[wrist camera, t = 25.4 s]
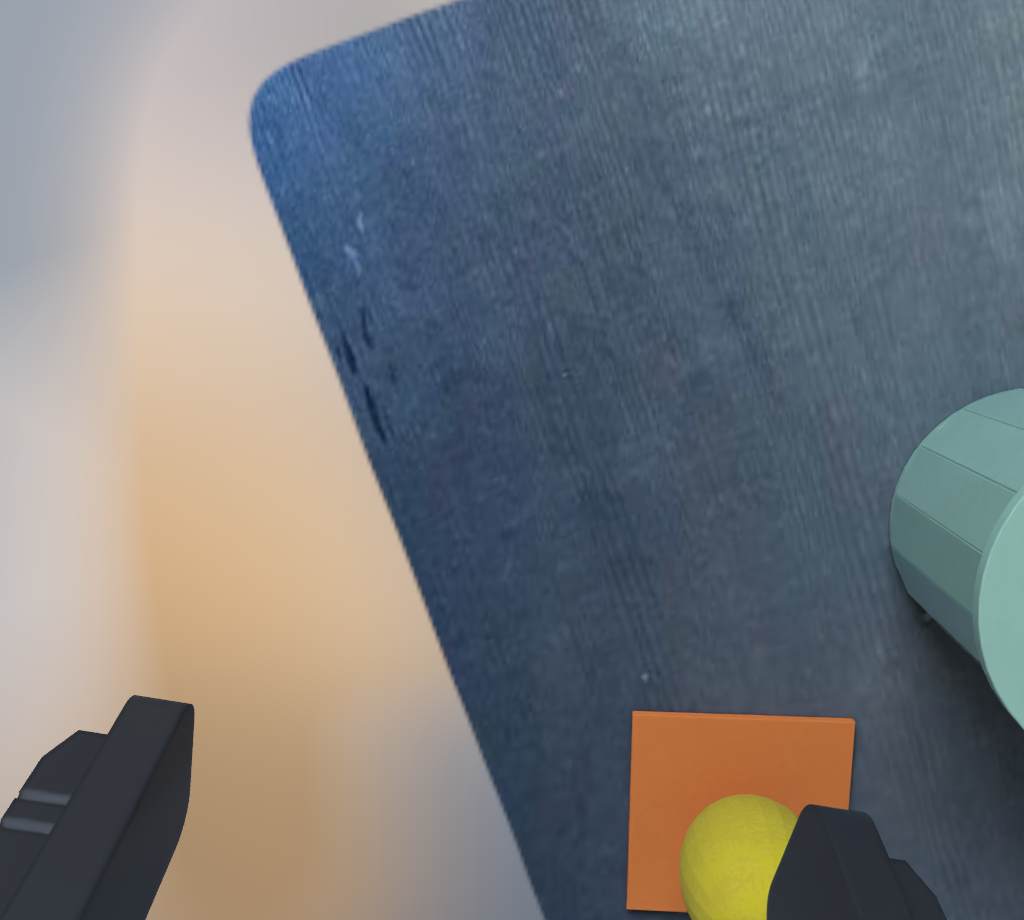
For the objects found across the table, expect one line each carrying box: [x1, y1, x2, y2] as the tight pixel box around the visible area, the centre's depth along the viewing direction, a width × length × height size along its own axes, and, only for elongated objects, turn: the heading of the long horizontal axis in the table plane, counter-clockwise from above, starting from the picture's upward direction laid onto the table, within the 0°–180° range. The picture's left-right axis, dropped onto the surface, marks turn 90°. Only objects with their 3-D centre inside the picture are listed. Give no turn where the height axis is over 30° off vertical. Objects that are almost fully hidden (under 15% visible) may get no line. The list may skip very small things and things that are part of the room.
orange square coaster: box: [627, 711, 855, 912], centre depth 40 cm, size 9×9×1 cm
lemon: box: [679, 794, 799, 920], centre depth 36 cm, size 6×6×8 cm
